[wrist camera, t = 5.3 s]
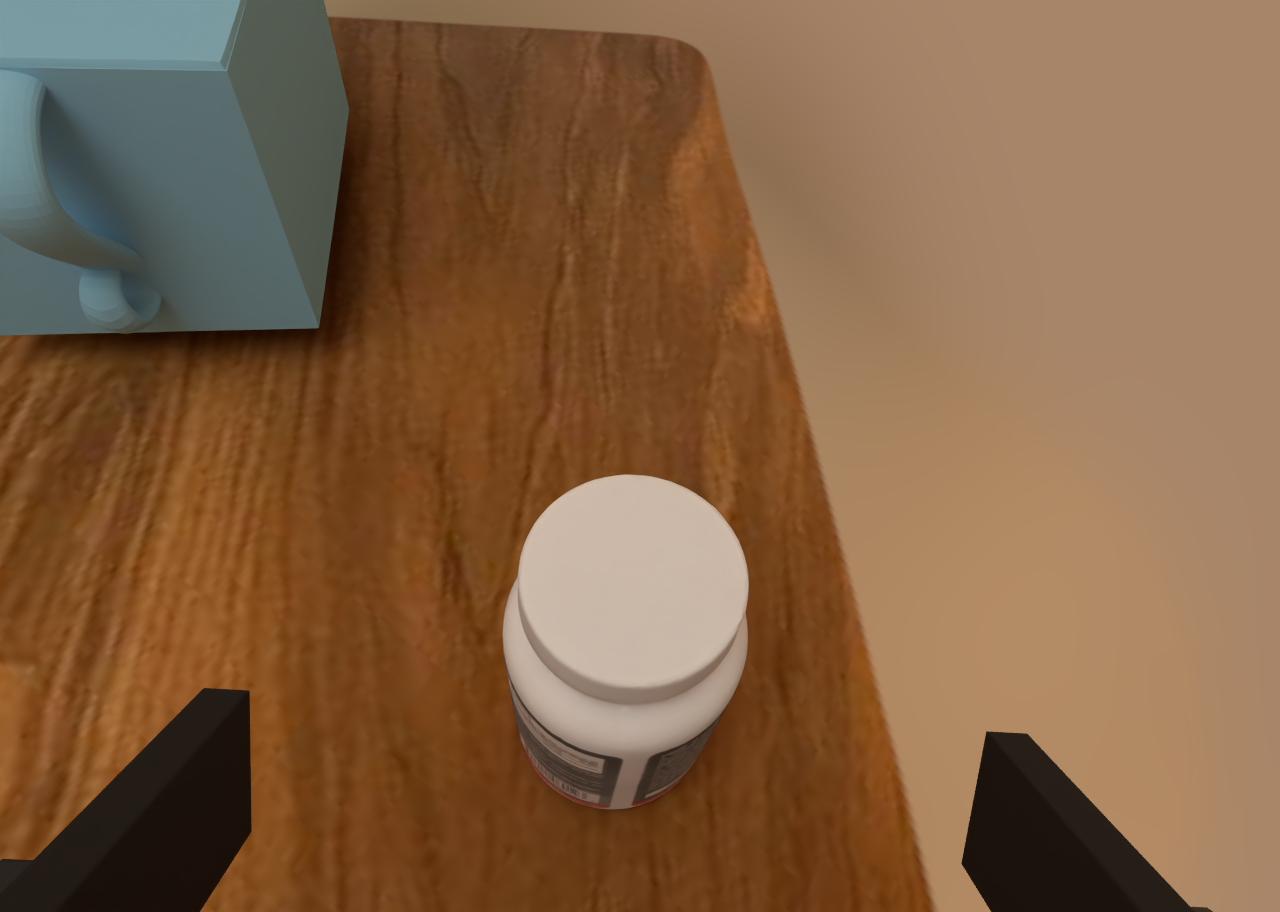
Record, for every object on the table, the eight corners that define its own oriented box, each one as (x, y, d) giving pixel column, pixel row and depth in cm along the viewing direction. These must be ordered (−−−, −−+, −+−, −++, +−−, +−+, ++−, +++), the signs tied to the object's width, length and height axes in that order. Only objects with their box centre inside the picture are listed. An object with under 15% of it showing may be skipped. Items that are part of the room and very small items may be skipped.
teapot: (322, 418, 29) (172, 50, 18) (-16, 430, 28) (-417, 39, 16) (366, 66, 41) (293, -292, 30) (131, 61, 40) (-43, -317, 28)
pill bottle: (685, 612, 26) (743, 441, 18) (723, 795, 23) (815, 691, 15) (507, 635, 26) (483, 466, 17) (524, 829, 23) (505, 737, 14)
